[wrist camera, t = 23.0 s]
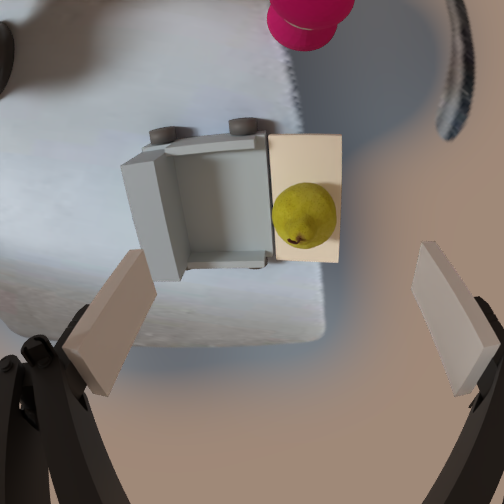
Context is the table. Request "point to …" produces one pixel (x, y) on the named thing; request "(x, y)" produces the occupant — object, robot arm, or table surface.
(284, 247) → the panel
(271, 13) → the pepper mill
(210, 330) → the table surface
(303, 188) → the fruit
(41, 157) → the table surface
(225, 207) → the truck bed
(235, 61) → the table surface
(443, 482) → the robot arm
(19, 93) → the table surface
